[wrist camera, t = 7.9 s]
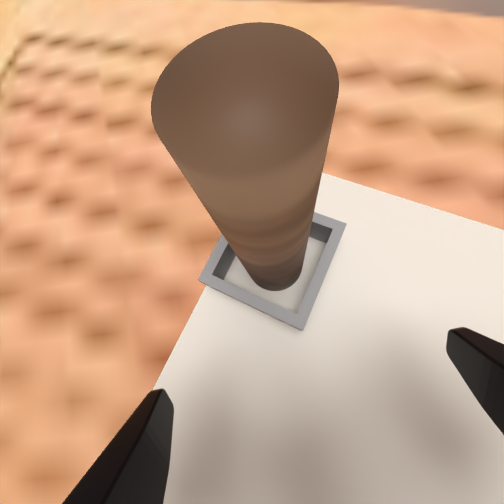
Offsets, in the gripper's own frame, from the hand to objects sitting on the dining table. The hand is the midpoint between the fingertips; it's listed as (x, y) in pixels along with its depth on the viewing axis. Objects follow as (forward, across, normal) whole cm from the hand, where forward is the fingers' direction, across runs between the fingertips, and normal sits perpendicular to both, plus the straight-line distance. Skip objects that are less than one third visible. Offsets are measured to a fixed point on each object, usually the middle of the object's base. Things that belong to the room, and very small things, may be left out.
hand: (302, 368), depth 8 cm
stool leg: (+9, 0, +1) cm, 9 cm away
